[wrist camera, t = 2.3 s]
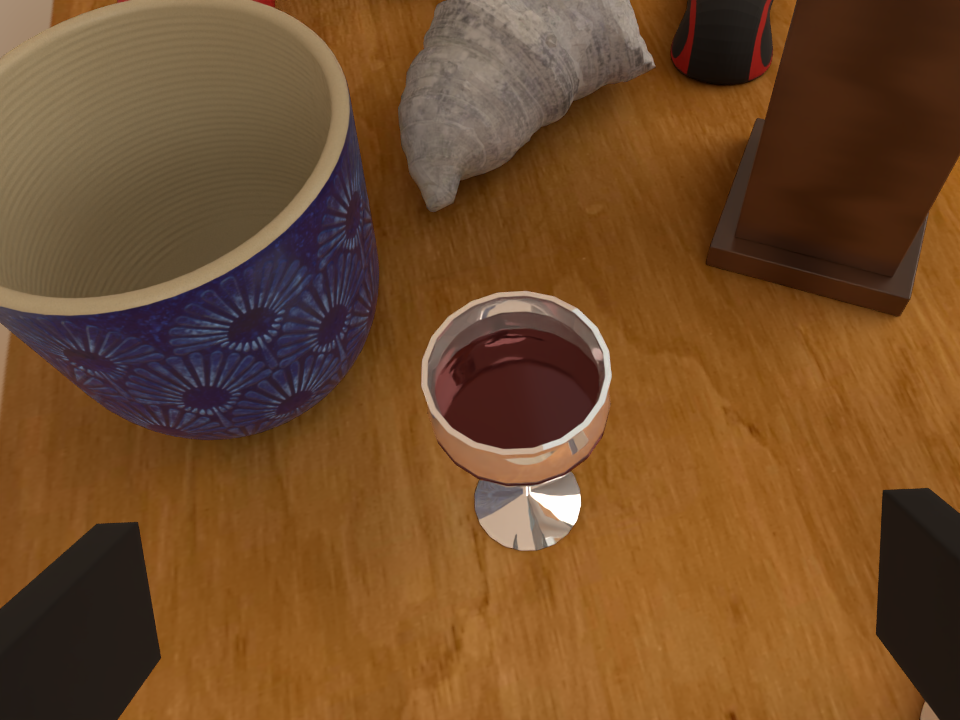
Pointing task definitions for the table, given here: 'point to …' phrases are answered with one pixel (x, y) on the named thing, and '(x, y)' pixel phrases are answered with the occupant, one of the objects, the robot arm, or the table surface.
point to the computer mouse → (724, 40)
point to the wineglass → (519, 408)
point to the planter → (185, 213)
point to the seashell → (506, 80)
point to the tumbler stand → (848, 152)
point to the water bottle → (928, 713)
